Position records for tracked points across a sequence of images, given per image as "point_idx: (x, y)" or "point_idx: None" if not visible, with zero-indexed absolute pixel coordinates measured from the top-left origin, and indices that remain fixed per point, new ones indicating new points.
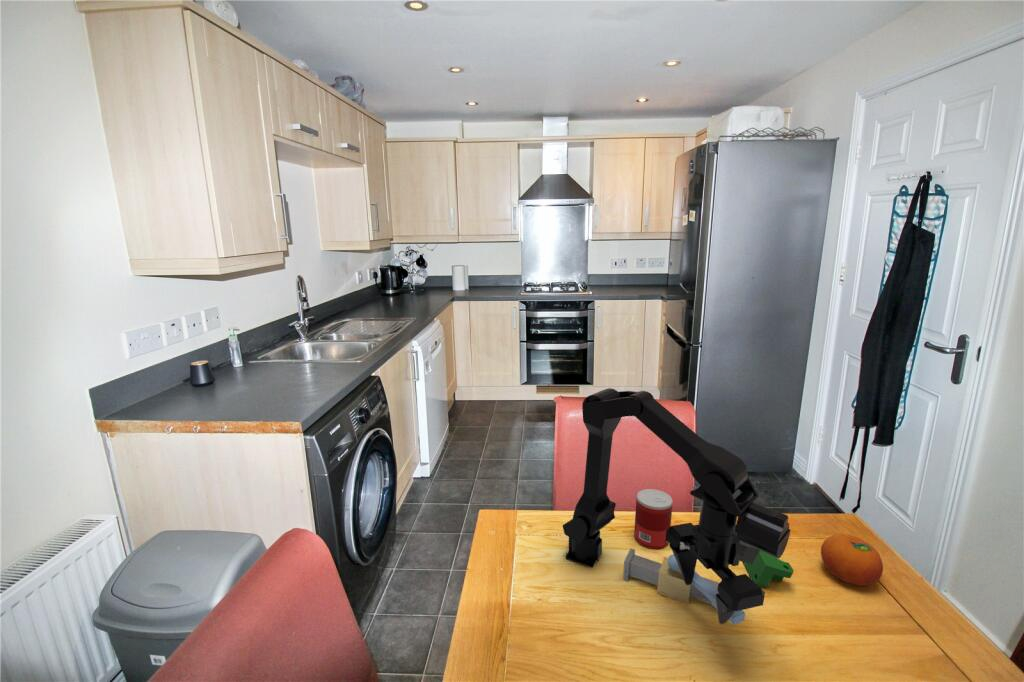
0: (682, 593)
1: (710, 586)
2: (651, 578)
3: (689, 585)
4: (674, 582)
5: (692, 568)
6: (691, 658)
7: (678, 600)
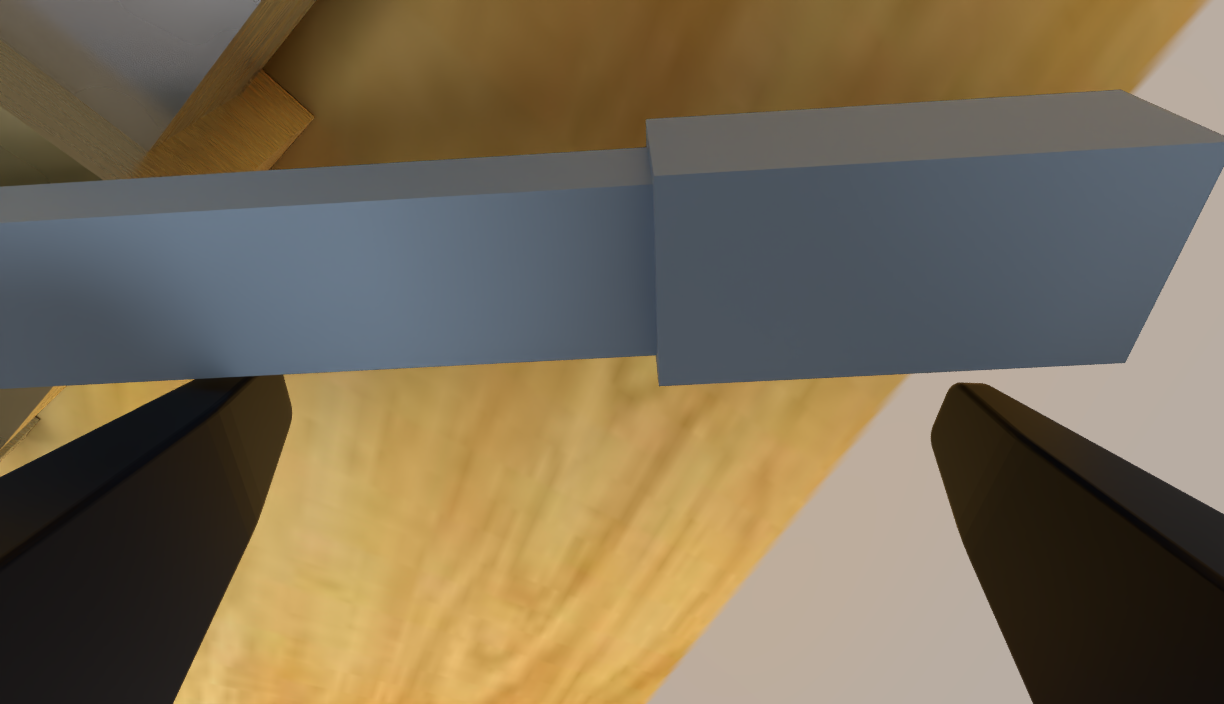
0: None
1: (428, 230)
2: None
3: None
4: None
5: (99, 574)
6: (769, 408)
7: None
